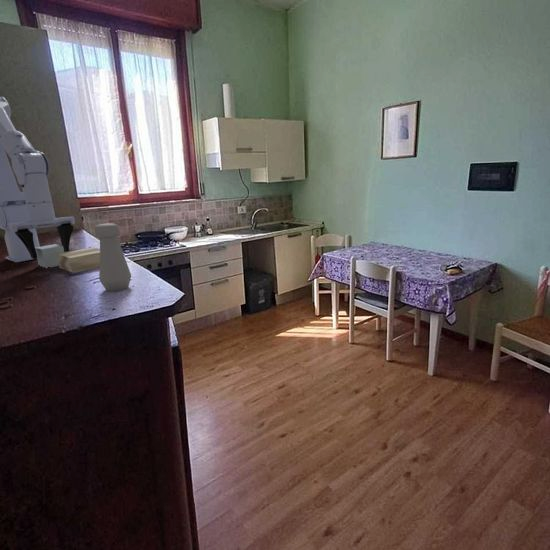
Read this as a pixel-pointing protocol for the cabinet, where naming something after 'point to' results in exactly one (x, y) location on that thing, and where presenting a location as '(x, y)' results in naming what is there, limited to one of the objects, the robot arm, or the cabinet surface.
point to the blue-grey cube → (48, 255)
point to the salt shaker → (112, 259)
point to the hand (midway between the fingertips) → (50, 255)
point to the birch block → (79, 259)
